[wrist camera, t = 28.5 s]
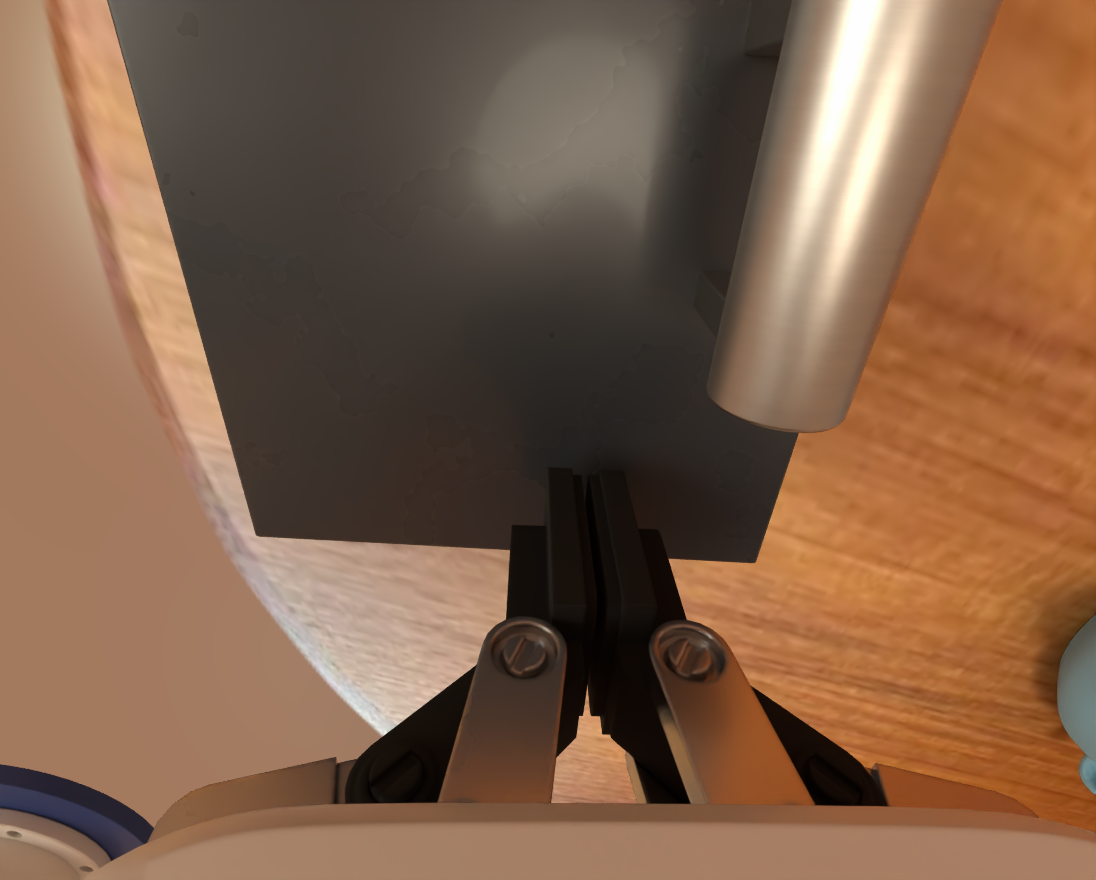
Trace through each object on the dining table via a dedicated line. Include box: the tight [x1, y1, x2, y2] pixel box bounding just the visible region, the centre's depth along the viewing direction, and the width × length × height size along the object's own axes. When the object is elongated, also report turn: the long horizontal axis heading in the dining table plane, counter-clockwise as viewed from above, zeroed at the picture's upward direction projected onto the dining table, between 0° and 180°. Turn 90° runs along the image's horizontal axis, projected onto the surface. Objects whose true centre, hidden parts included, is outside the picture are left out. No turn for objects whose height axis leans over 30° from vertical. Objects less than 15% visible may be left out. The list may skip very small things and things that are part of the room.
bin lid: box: [107, 0, 1003, 563], centre depth 8 cm, size 13×18×5 cm
